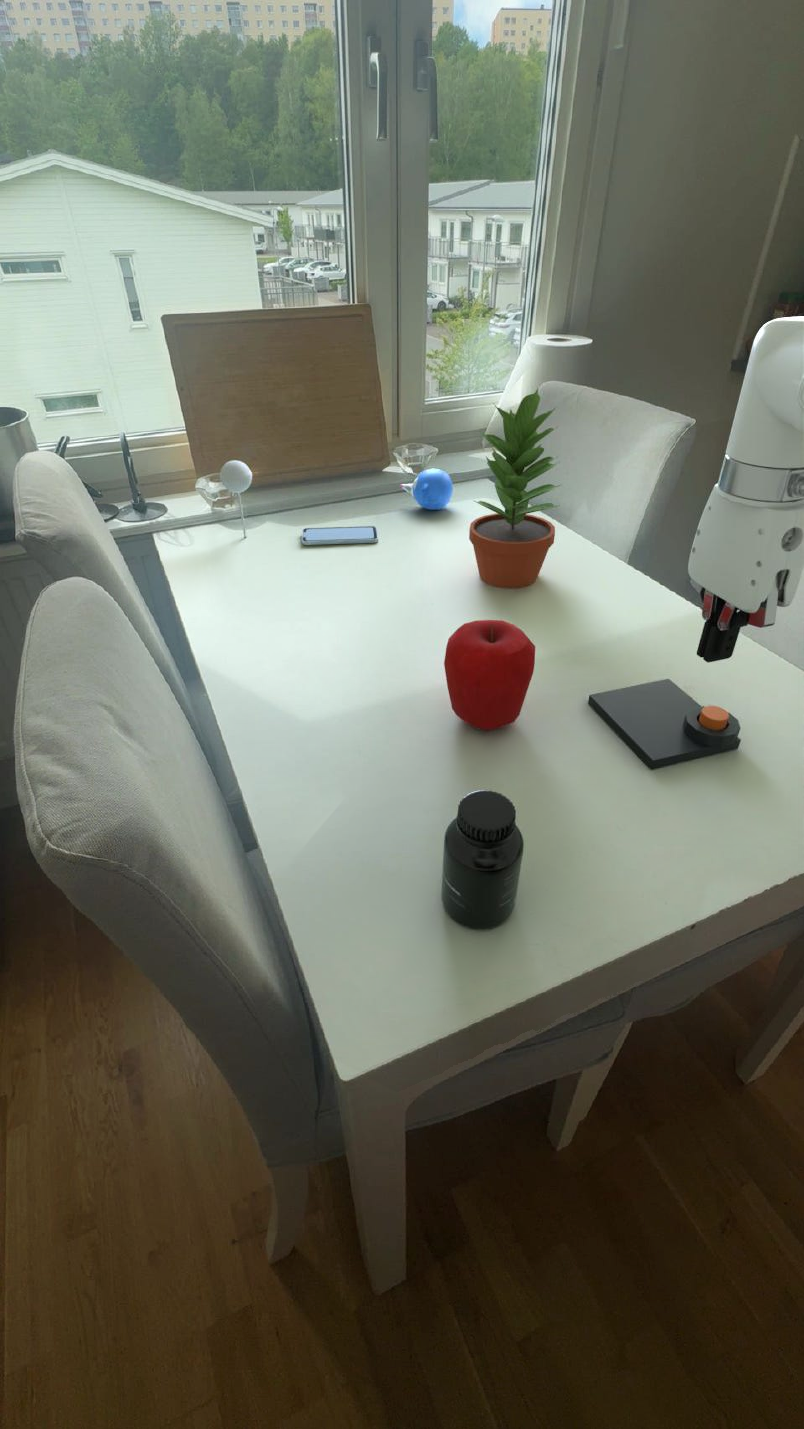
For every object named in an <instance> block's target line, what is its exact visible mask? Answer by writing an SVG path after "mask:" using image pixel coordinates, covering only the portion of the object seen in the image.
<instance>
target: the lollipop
mask: <svg viewBox="0 0 804 1429" xmlns="http://www.w3.org/2000/svg"><path fill="white" fill-rule="evenodd" d="M219 480H220V482H221V484H222V485H223V487H224V488H225V489H226V490H228V491H229V492H231V493H233V494H234V493H235V494H237V499H238V506H239V511H240V517H241V524H242V531H243V538H247V536H248V535H247V531H246V525H245V518H244V517H245V516H244V512H243V511H244V510H243V505H242V504H243V503H242V498H241V493H244V492H246V491H247V490H248V489H249V488H250V486H251V484H252V480H253V473H252V471H251V469H250V468H249V466H248V465H247V464H246V463H244V462H243V461H241V460H230V461H227V462H226V463H225V464H224V465H223V466H222V467H221V469H220V472H219Z"/></svg>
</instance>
